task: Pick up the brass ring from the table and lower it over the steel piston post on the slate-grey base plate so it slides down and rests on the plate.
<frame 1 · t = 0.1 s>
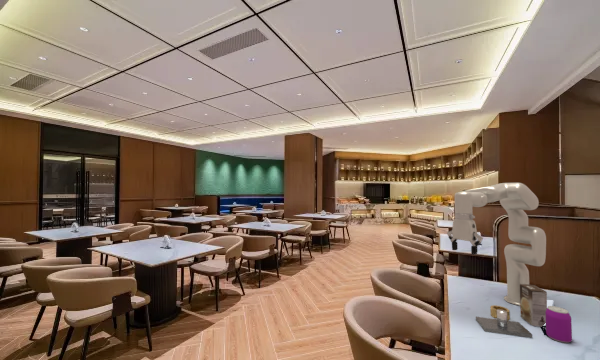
hand: (464, 252, 128), 31 cm above the table, tool pointing down, fingers open, 9 cm apart
brass ring: (500, 316, 127), on the table
beverage can: (558, 339, 108), on the table
coffee box: (533, 322, 122), on the table
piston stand: (502, 328, 116), on the table
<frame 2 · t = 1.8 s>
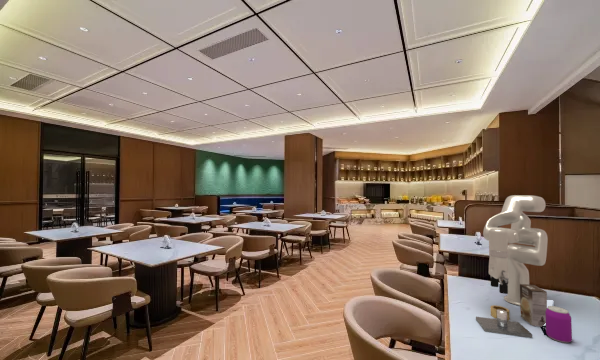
hand: (498, 289, 127), 13 cm above the table, tool pointing down, fingers open, 9 cm apart
nothing on the table moved.
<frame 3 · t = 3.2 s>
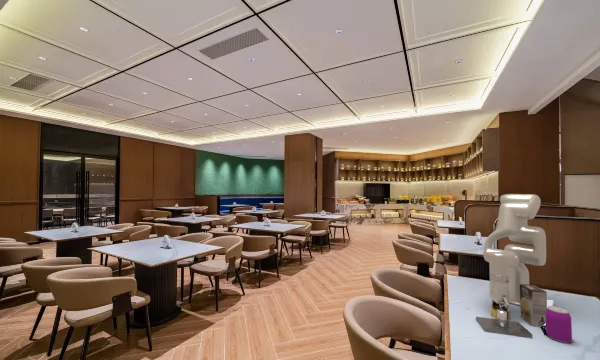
hand: (499, 314, 127), 1 cm above the table, tool pointing down, fingers closed on brass ring, 7 cm apart
brass ring: (500, 316, 127), on the table, touching gripper
everything else where it was.
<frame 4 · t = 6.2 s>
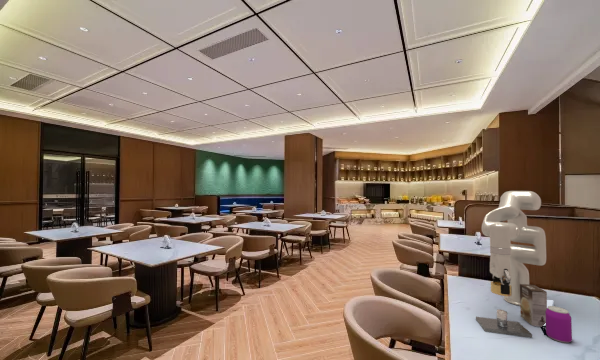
hand: (501, 290, 117), 16 cm above the table, tool pointing down, fingers closed on brass ring, 7 cm apart
brass ring: (501, 293, 117), point 15 cm above the table, touching gripper
everything else where it was.
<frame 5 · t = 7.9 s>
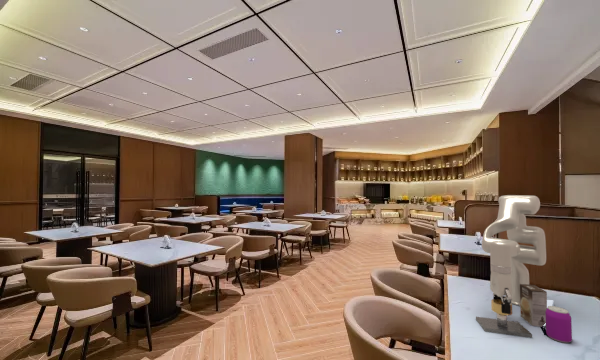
hand: (501, 309, 117), 8 cm above the table, tool pointing down, fingers closed on brass ring, 7 cm apart
brass ring: (501, 311, 116), point 7 cm above the table, touching gripper
everything else where it was.
when the fingers open (5 cm above the table, at t = 9.1 s): brass ring drops 2 cm, resting on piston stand.
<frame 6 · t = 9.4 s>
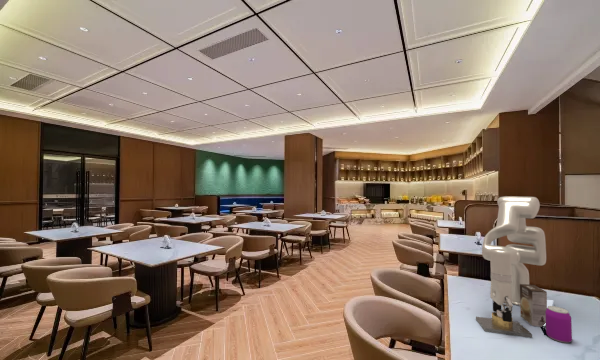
hand: (502, 316, 116), 5 cm above the table, tool pointing down, fingers open, 9 cm apart
brass ring: (502, 324, 116), point 1 cm above the table, touching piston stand
everything else where it was.
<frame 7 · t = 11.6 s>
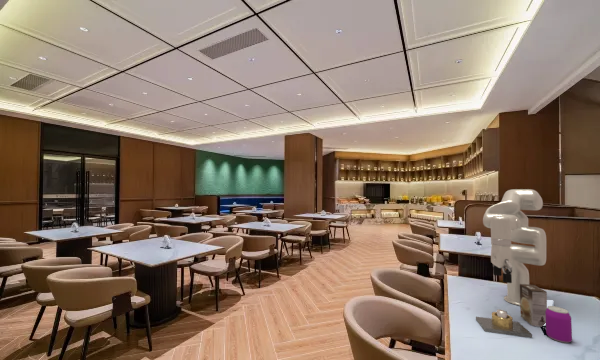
hand: (502, 278, 123), 20 cm above the table, tool pointing down, fingers open, 9 cm apart
nothing on the table moved.
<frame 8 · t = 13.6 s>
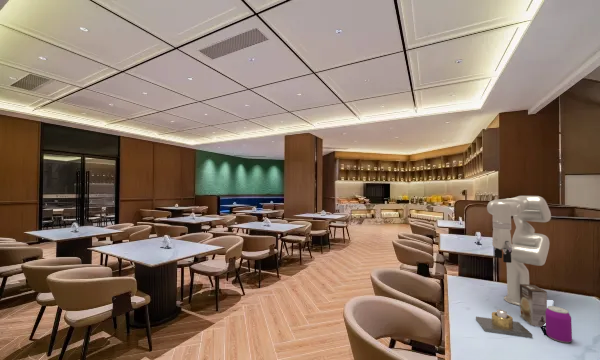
hand: (502, 260, 133), 26 cm above the table, tool pointing down, fingers open, 9 cm apart
nothing on the table moved.
at the end: brass ring 0.1 cm off-centre on the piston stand, point 1.5 cm above the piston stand's base; brass ring tilted 0°; the gripper is holding nothing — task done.
